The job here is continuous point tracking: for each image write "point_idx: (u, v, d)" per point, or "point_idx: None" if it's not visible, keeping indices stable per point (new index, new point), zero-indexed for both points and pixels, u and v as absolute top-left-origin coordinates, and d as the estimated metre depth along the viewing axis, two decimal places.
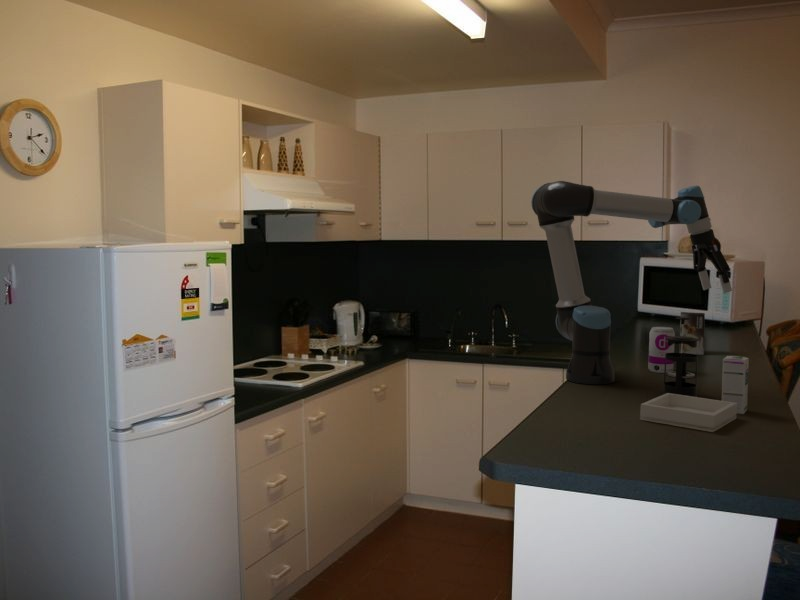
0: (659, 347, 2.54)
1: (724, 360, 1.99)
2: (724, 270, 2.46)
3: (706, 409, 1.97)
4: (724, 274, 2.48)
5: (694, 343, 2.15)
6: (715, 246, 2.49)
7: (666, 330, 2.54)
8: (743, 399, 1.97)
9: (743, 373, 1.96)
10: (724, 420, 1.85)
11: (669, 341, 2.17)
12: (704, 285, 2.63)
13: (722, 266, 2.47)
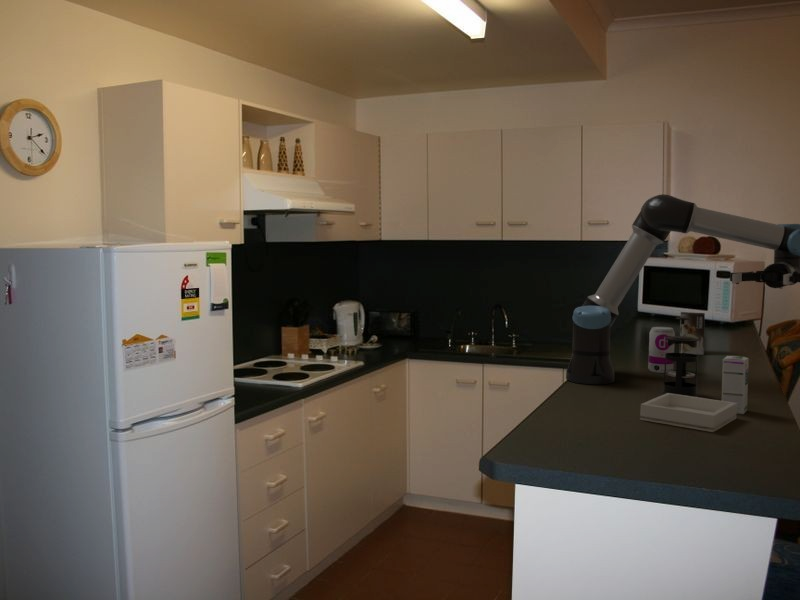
0: (659, 347, 2.54)
1: (724, 360, 1.99)
2: None
3: (706, 409, 1.97)
4: (796, 277, 2.13)
5: (694, 343, 2.15)
6: None
7: (666, 330, 2.54)
8: (743, 399, 1.97)
9: (743, 373, 1.96)
10: (724, 420, 1.85)
11: (669, 341, 2.17)
12: (736, 275, 2.19)
13: None
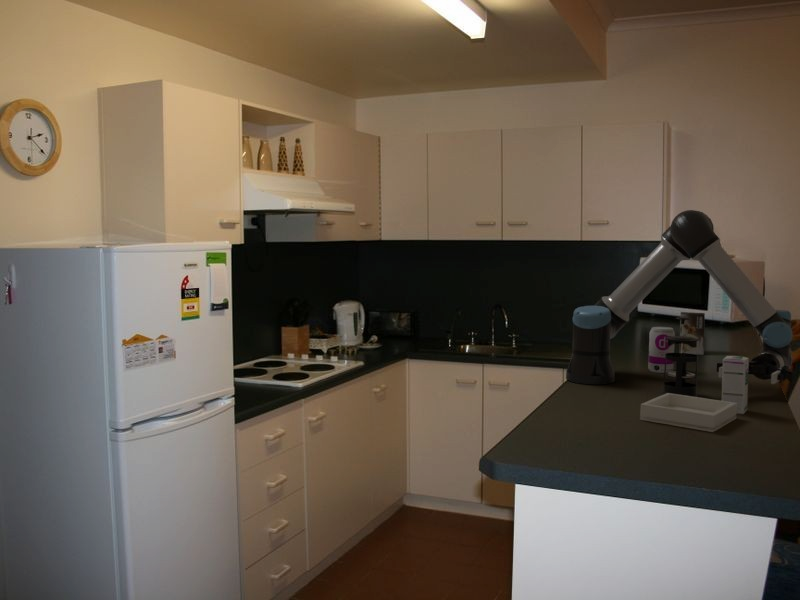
0: (659, 347, 2.54)
1: (724, 360, 1.99)
2: None
3: (706, 409, 1.97)
4: (785, 375, 2.06)
5: (694, 343, 2.15)
6: None
7: (666, 330, 2.54)
8: (743, 399, 1.97)
9: (743, 373, 1.96)
10: (724, 420, 1.85)
11: (669, 341, 2.17)
12: None
13: None
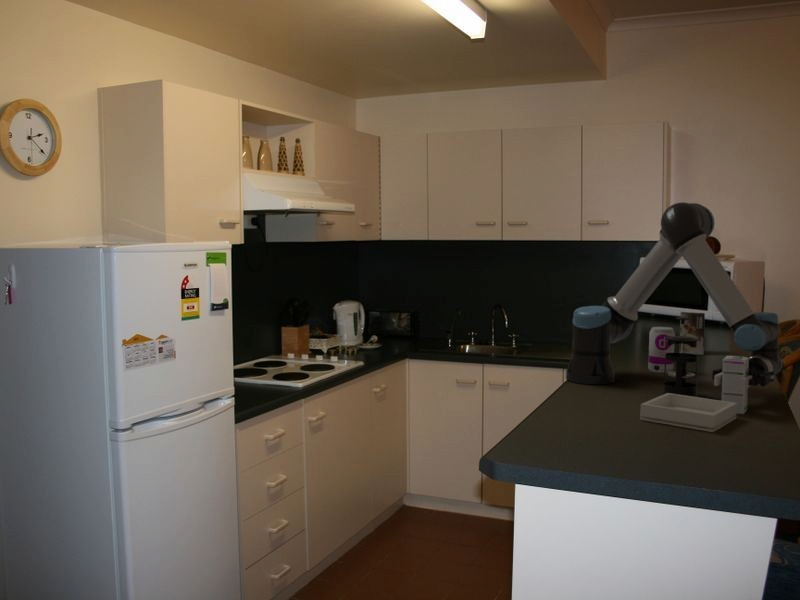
0: (659, 347, 2.54)
1: (724, 360, 1.99)
2: None
3: (706, 409, 1.97)
4: (756, 380, 1.98)
5: (694, 343, 2.15)
6: (773, 377, 2.04)
7: (666, 330, 2.54)
8: (743, 399, 1.97)
9: (743, 373, 1.96)
10: (724, 420, 1.85)
11: (669, 341, 2.17)
12: (719, 376, 1.99)
13: (766, 377, 1.99)
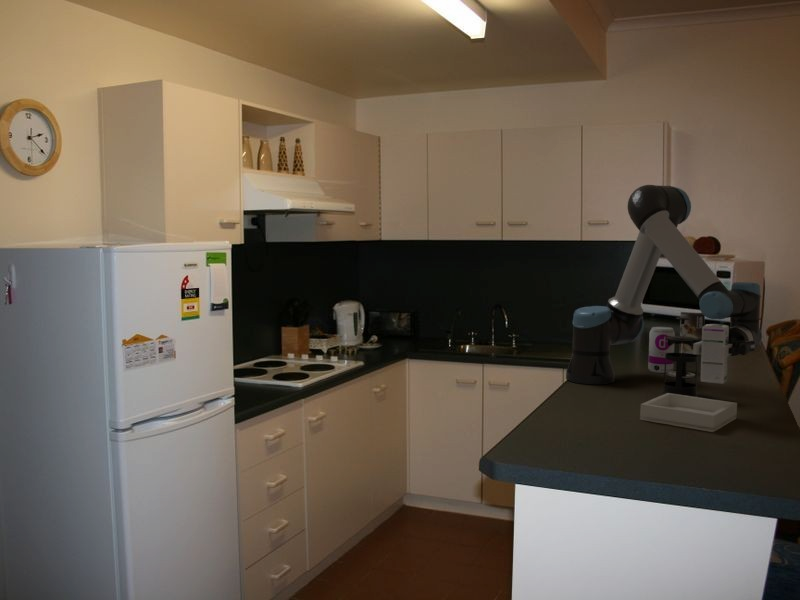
0: (659, 347, 2.54)
1: (703, 328, 1.91)
2: (745, 346, 1.91)
3: (706, 409, 1.97)
4: (737, 348, 1.91)
5: None
6: (754, 346, 1.97)
7: (666, 330, 2.54)
8: (723, 368, 1.90)
9: (723, 341, 1.89)
10: (724, 420, 1.85)
11: (669, 341, 2.17)
12: (698, 345, 1.92)
13: (747, 346, 1.92)
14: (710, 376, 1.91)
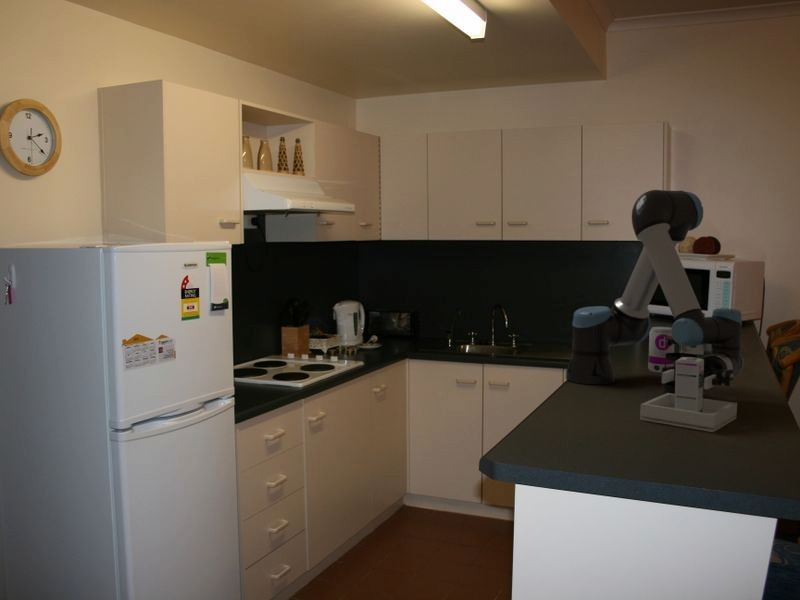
0: (659, 347, 2.54)
1: (677, 362, 1.90)
2: (729, 377, 1.88)
3: (706, 409, 1.97)
4: (720, 379, 1.88)
5: None
6: (732, 375, 1.96)
7: (666, 330, 2.54)
8: (696, 403, 1.88)
9: (696, 375, 1.87)
10: (724, 420, 1.85)
11: (669, 341, 2.17)
12: (667, 374, 1.92)
13: (730, 376, 1.89)
14: None
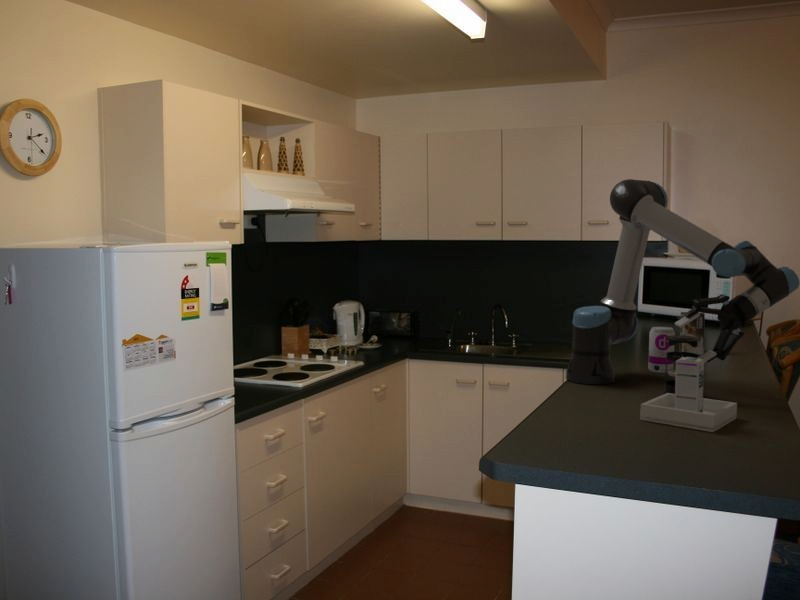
0: (659, 347, 2.54)
1: (677, 362, 1.90)
2: (695, 300, 2.08)
3: (706, 409, 1.97)
4: (693, 308, 2.08)
5: (696, 343, 2.15)
6: (724, 295, 2.09)
7: (666, 330, 2.54)
8: (696, 403, 1.88)
9: (696, 375, 1.87)
10: (724, 420, 1.85)
11: (671, 341, 2.17)
12: None
13: (700, 299, 2.08)
14: None
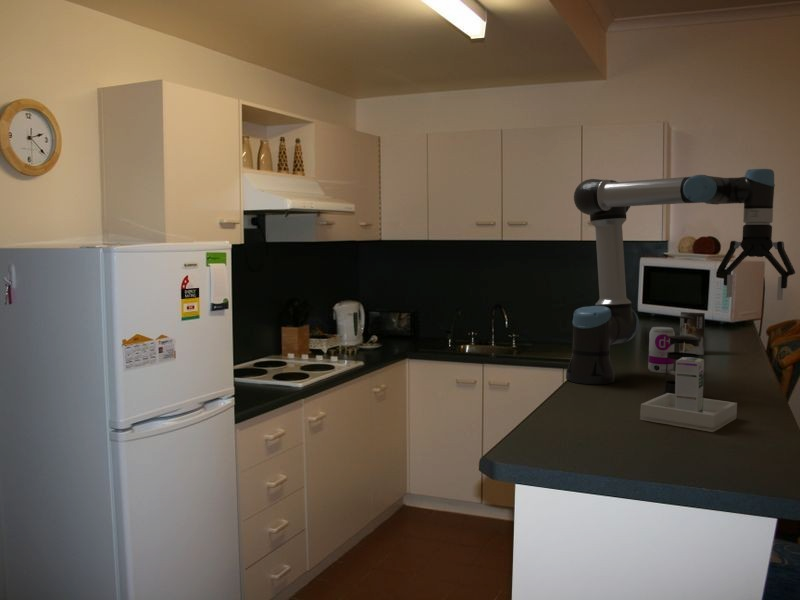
0: (659, 347, 2.54)
1: (677, 362, 1.90)
2: None
3: (706, 409, 1.97)
4: None
5: (697, 342, 2.15)
6: None
7: (666, 330, 2.54)
8: (696, 403, 1.88)
9: (696, 375, 1.87)
10: (724, 420, 1.85)
11: (672, 340, 2.18)
12: None
13: None
14: None
